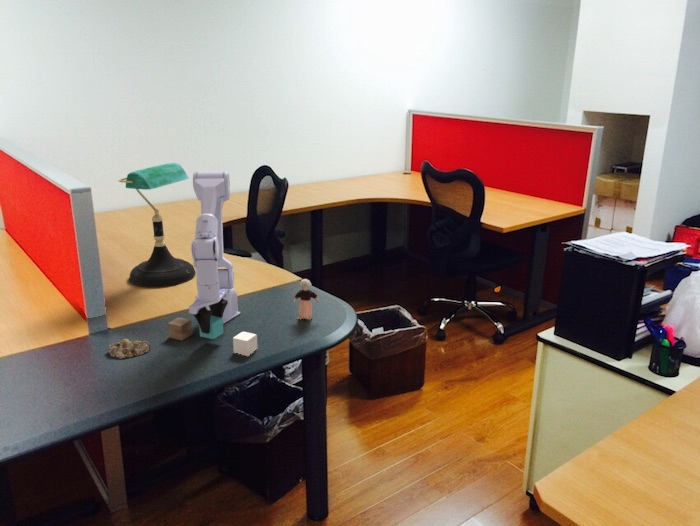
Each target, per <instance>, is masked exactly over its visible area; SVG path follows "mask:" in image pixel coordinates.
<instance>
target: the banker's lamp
mask: <svg viewBox="0 0 700 526" xmlns="http://www.w3.org/2000/svg"><path fill="white" fill-rule="evenodd" d="M188 179H189V176H188V174H187V172H186V171H185V169H184V168H183V166H182V165H181V164H179V163H176V162H168V163H164V164H159V165H154V166H151V167H146V168H143V169H137V170H134V171H131V172H129V173H128V174H127V176H126V177H123V178H120V179H118V182H119V183H125V188H126V189H133V190H135V191H136V192H137V193H138V194H139V195H140V196H141V198H142V199H143V200H144V201H145V202H146V203H147V204H148V205H149V206H150V208H151V209H153V211H154V212H153V213H154V215H153V216H152V218H151V222H152V230H153V238H154V240H155V242H154V246H153V250H152V252H151V255H150V256H149V258H148V260H145V261H142V262H140V263H139V264H137V265H136V266H134V267H133V268H132V269H131V271H130V273H129V281H130V283H132V284H134V285H136V286H138V287H144V288H145V287H146V288H160V287H161V288H163V287H171V286H176V285H180V284H183V283H186V282H188V281H190V280H192V279H193V278H194V277H196V268H195V267H194V264H192V263H190V262H188V261H186V260H184V259H182V258H180V257H179V258H178V257H175V256H173V255H172V253H171V252H170V251H169V249H168V247H167V246H166V242H165V241H164V239H165V235H164V234H165V233H164V224H163V221H164V219H163V216H162V215H160V212H159V211H160V210H159V209H157V208H156V207H155V206H154V205H152V203H151V202H150V201H149V200H148V198H147V197H146V196H145V195H144V194H143V193H142V192H141V191H140V190H146V191H147V190H154V189H159V188H162V187H164V186H168V185H171V184H175V183H178V182H182V181H185V180H188Z"/></svg>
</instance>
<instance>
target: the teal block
mask: <svg viewBox="0 0 700 526" xmlns="http://www.w3.org/2000/svg"><path fill="white" fill-rule="evenodd" d="M198 326H199V325H198ZM198 328H199V336H200V337H201V338H202V337H203V338H206V339H211V340H215V339H216V338H218V337H219V336H221V335H223V334H224V331H225V330H224V324H223V318H221V317H216V316H211V318H210V332H209V333H208V334H206V333H202V331H201V328H200V326H199V327H198Z"/></svg>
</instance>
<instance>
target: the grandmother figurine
mask: <svg viewBox="0 0 700 526" xmlns="http://www.w3.org/2000/svg"><path fill="white" fill-rule="evenodd" d="M299 285H300V288H301V289H300V290H299V291H298V292H296V294H295V295H294V298H293V300H292V302H293V303H297V301H298V299H299V304H298V316H297V318H296V319H300V320H299V321H302V320H301V319H303V318H304V319H305V320H306V319H311V317H312V314H313V313H312V311H313V307H312V306H313V304H312V299H314V301H315V303H319V302H320V300H319V297H318V294H316V293H315V292H314V291H313V290H310V288H311V287H312V283H311V281H310V280H309V279H307V278H303V279H301V281H300V283H299ZM311 298H312V299H311ZM304 319H303V320H304Z"/></svg>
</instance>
